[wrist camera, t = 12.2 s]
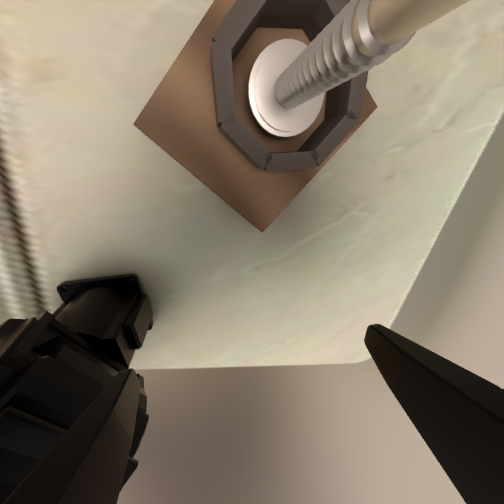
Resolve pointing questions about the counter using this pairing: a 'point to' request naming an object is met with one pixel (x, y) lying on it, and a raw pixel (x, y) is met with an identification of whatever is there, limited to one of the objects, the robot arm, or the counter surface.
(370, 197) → the counter surface
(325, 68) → the screw
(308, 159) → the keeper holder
